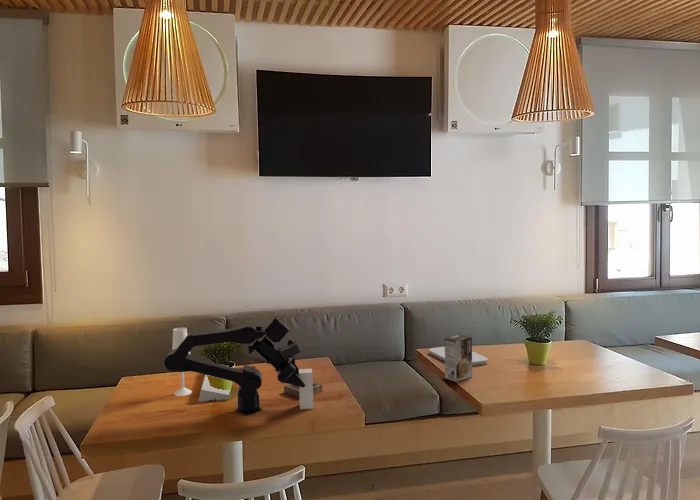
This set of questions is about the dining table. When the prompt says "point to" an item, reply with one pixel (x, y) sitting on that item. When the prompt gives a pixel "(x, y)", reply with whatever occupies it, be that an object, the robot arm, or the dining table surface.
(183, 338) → the champagne flute
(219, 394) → the decorative molding
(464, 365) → the coffee box
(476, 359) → the tablet
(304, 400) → the clay block
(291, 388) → the rectangular frame
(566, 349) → the dining table surface
